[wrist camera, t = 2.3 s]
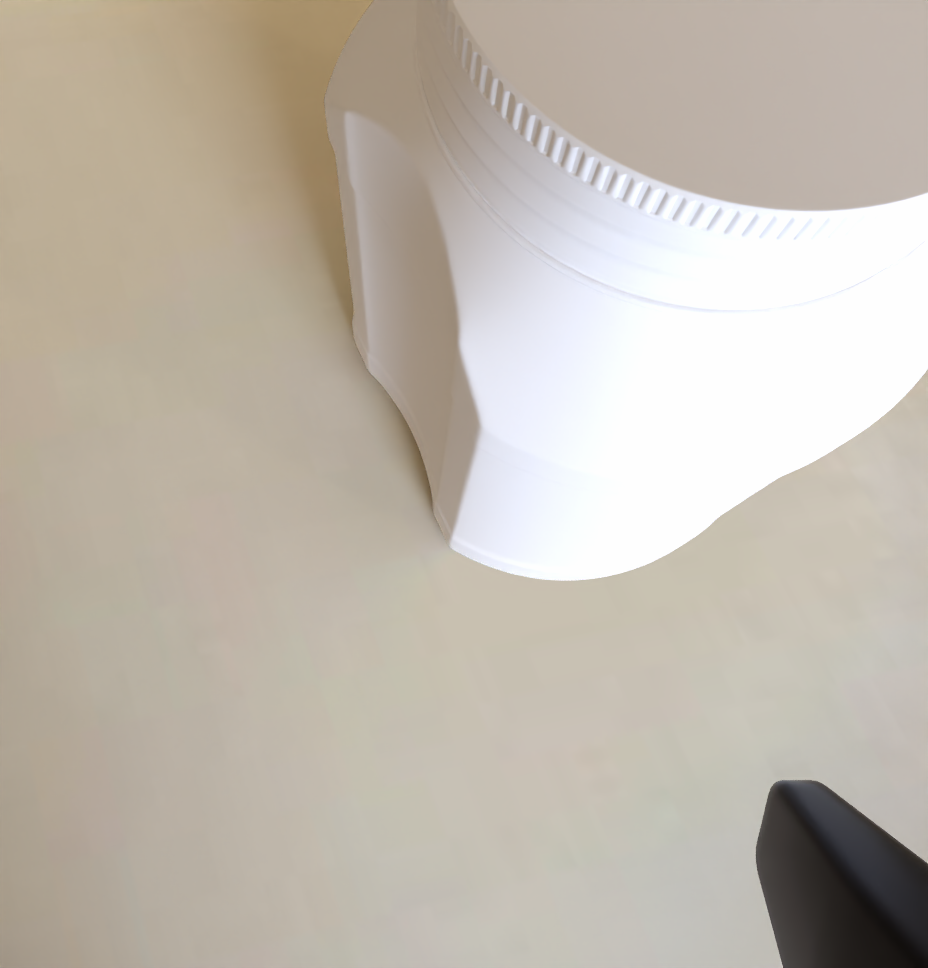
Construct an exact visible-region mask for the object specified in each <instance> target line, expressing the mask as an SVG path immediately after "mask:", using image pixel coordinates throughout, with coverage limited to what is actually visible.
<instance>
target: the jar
mask: <svg viewBox="0 0 928 968" xmlns="http://www.w3.org/2000/svg"><path fill="white" fill-rule="evenodd" d="M324 106H325V114H326V122H327V130H328V137H329V140H330V143H331V145H332V147H333V149H334V152H335V157H336V166H337V174H338V183H339V191H340V199H341V208H342V216H343V225H344V233H345V241H346V250H347V258H348V267H349V275H350V283H351V292H352V300H353V309H354V315H353V318H352V327H353V335H354V341H355V344H356V346H357V348H358V350H359V352H360V355H361V357H362V359H363V361H364V363H365V365H366V368H367V370H368V371H369V373H370V374H371V375H372V376H373V377H375V378H376V379H377V381H378V382H379V383H380V384H381V385H382V386H383V388H384V389H385V390H386V391H387V393H388V394H389V395H390V397H391V398H392V400H393V401H394V403H395V404H396V406H397V407H398V409H399V410H400V412H401V413H402V415H403V417H404V418H405V420H406V422H407V424H408V426H409V428H410V430H411V432H412V434H413V436H414V438H415V441H416V443H417V445H418V448H419V450H420V453H421V456H422V459H423V462H424V465H425V469H426V472H427V476H428V480H429V484H430V488H431V494H432V500H433V513H434V516H435V518H436V520H437V522H438V524H439V527H440V529H441V531H442V533H443V535H444V537H445V540H446V542H447V544H448V546H449V547H450V548H451V549H453V550H455V551H457V552H458V553H460V554H462V555H464V556H466V557H468V558H470V559H472V560H474V561H477V562H479V563H481V564H484V565H486V566H489V567H492V568H495V569H498V570H501V571H504V572H508V573H511V574H516V575H520V576H525V577H531V578H538V579H547V580H584V579H594V578H600V577H606V576H611V575H615V574H619V573H623V572H626V571H630V570H633V569H636V568H638V567H641V566H644V565H646V564H648V563H651V562H653V561H655V560H657V559H659V558H661V557H663V556H665V555H667V554H668V553H670V552H672V551H673V550H675V549H677V548H678V547H680V546H681V545H683V544H685V543H686V542H688V541H689V540H691V539H692V538H694V537H695V536H697V535H698V534H699V533H701V532H702V531H703V530H704V529H706V528H707V527H708V526H709V525H710V524H712V523H713V522H714V521H715V520H716V519H717V518H718V517H719V516H720V515H722V514H723V513H725V512H727V511H728V510H730V509H731V508H733V507H734V506H736V505H737V504H739V503H740V502H742V501H744V500H745V499H747V498H748V497H750V496H751V495H753V494H754V493H756V492H757V491H759V490H761V489H762V488H764V487H765V486H767V485H768V484H770V483H771V482H773V481H774V480H776V479H778V478H779V477H781V476H783V475H786V474H788V473H790V472H793V471H795V470H797V469H799V468H801V467H804V466H806V465H807V464H809V463H811V462H813V461H815V460H817V459H819V458H820V457H822V456H824V455H826V454H827V453H829V452H831V451H832V450H834V449H835V448H837V447H839V446H840V445H842V444H843V443H845V442H846V441H848V440H850V439H851V438H853V437H854V436H856V435H857V434H859V433H860V432H862V431H863V430H865V429H866V428H868V427H869V426H870V425H872V424H873V423H874V422H876V421H877V420H878V419H879V418H881V417H882V416H883V415H884V414H886V413H887V412H888V411H889V410H890V409H891V408H892V407H893V406H895V405H896V404H897V403H898V402H899V401H900V400H901V399H902V398H903V397H904V396H905V395H906V394H907V393H908V392H909V391H910V390H911V388H912V387H913V386H914V385H915V384H916V383H917V382H918V380H919V379H920V378H921V377H922V376H923V374H924V373H925V372H926V370H927V369H928V0H374V1H373V2H372V3H371V5H370V6H369V7H368V9H367V10H366V11H365V13H364V14H363V15H362V17H361V18H360V20H359V21H358V23H357V24H356V26H355V28H354V29H353V31H352V33H351V34H350V36H349V38H348V40H347V42H346V44H345V46H344V48H343V50H342V52H341V54H340V56H339V58H338V60H337V63H336V65H335V68H334V70H333V73H332V75H331V78H330V81H329V84H328V87H327V90H326V94H325V97H324Z"/></svg>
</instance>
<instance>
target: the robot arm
mask: <svg viewBox="0 0 928 968" xmlns="http://www.w3.org/2000/svg"><path fill="white" fill-rule="evenodd" d="M756 864H757V871H758V875H759V879H760V883H761V886H762V890H763V894H764V898H765V901H766V905H767V909H768V912H769V916H770V920H771V924H772V927H773V931H774V935H775V939H776V942H777V946H778V950H779V954H780V957H781V961H782V965H783V968H928V863H926V862H925V861H924V860H922V859H921V858H920V857H918V856H917V855H916V854H914V853H913V852H912V851H911V850H909V849H908V848H907V847H905V846H904V845H903V844H901V843H900V842H899V841H897V840H896V839H895V838H893V837H892V836H891V835H890V834H888V833H887V832H886V831H884V830H883V829H882V828H880V827H879V826H878V825H876V824H875V823H874V822H873V821H871V820H870V819H869V818H867V817H866V816H865V815H863V814H862V813H861V812H859V811H858V810H857V809H856V808H854V807H853V806H852V805H850V804H849V803H848V802H846V801H845V800H844V799H842V798H841V797H840V796H838V795H837V794H836V793H835V792H833V791H832V790H831V789H829V788H828V787H827V786H825V785H824V784H822V783H820V782H818V781H812V780H782V781H778V782H776V783H775V784H773V786H772V787H771V789H770V792H769V795H768V799H767V803H766V807H765V811H764V815H763V820H762V824H761V828H760V832H759V836H758V841H757V846H756Z"/></svg>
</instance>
